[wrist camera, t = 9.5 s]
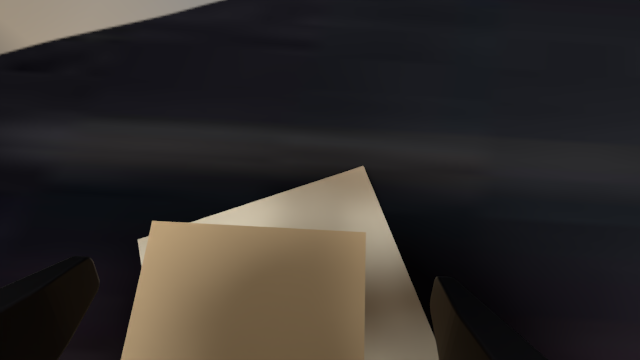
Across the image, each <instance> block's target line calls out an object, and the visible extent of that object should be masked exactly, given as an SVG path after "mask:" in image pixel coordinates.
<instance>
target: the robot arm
mask: <svg viewBox="0 0 640 360" xmlns="http://www.w3.org/2000/svg"><path fill="white" fill-rule="evenodd" d="M98 288H99V278H98V275H97V272H96V268H95V265H94V262H93V260H92V259H91V258H90V257H84V256H73V257H70V258H68V259H66V260H63V261H61V262H59V263H56V264H54V265H52V266H50V267H47V268H45V269H43V270H41V271H38V272H36V273H34V274H31V275H29V276H27V277H25V278H22V279H20V280H18V281H16V282H13V283H11V284H9V285H6V286H4V287H2V288H0V360H58V359H59V357H60V356H61V354H62V353H63V351H64V350H65V348H66V346H67V345H68V343H69V341H70V340H71V338H72V336H73V335H74V333H75V331H76V329H77V327H78V326H79V324H80V322H81V320H82V318H83V316H84V315H85V313H86V311H87V309H88V307H89V306H90V304H91V302H92V300H93V298H94V297H95V295H96V293H97V291H98ZM430 311H431V317H432V323H433V328H434V334H435V340H436V346H437V351H438V357H439V360H548V359H546V358H545V357H544V356H543V355H542V354H541V353H540V352H538V351H537V350H536V349H535V348H534V347H533V346H532V345H530V344H529V343H528V342H527V341H526V340H525V339H524V338H522V337H521V336H520V335H519V334H518V333H517V332H516V331H514V330H513V329H512V328H511V327H510V326H509V325H508V324H506V323H505V322H504V321H503V320H502V319H501V318H499V317H498V316H497V315H496V314H495V313H494V312H493V311H491V310H490V309H489V308H488V307H487V306H486V305H485V304H483V303H482V302H481V301H480V300H479V299H478V298H477V297H475V296H474V295H473V294H472V293H471V292H470V291H469V290H467V289H466V288H465V287H464V286H463V285H462V284H461V283H459V282H458V281H457V280H456V279H455V278H453V277H448V276H437V277H436V278H435V280H434V285H433V289H432V294H431V299H430Z"/></svg>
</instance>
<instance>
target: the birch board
mask: <svg viewBox="0 0 640 360" xmlns="http://www.w3.org/2000/svg"><path fill="white" fill-rule="evenodd" d="M190 223H202V224H221V225H239V226H258V227H277V228H296V229H315V230H333V231H352V232H366V258H365V336H364V360H439V357H438V351H437V346H436V340H435V337H434V335H433V332H432V330H431V328H430V325H429V323H428V320H427V318H426V315H425V313H424V311H423V308H422V306H421V303H420V301H419V299H418V296H417V294H416V291H415V289H414V287H413V284H412V282H411V279H410V277H409V274H408V272H407V270H406V267H405V265H404V262H403V260H402V258H401V255H400V253H399V250H398V248H397V246H396V243H395V241H394V238H393V236H392V233H391V231H390V229H389V226H388V224H387V221H386V219H385V217H384V214H383V212H382V209H381V207H380V205H379V202H378V200H377V197H376V195H375V192H374V190H373V188H372V185H371V183H370V180H369V178H368V176H367V173H366V171H365V168H364V166H361V167H358V168H355V169H352V170H349V171H346V172H343V173H340V174H337V175H334V176H331V177H328V178H325V179H322V180H319V181H316V182H313V183H309V184H306V185H303V186H300V187H297V188H294V189H291V190H288V191H285V192H282V193H279V194H276V195H273V196H270V197H267V198H264V199H261V200H257V201H254V202H251V203H248V204H245V205H242V206H239V207H236V208H233V209H230V210H227V211H224V212H221V213H218V214H215V215H212V216H209V217H205V218H202V219H199V220H196V221H193V222H190ZM148 238H149V236H147V237H144V238H141V239H138V246H139V252H140V259H141V265H142V264H143V260H144V255H145V251H146V246H147V242H148Z"/></svg>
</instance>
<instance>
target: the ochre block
mask: <svg viewBox="0 0 640 360" xmlns="http://www.w3.org/2000/svg"><path fill="white" fill-rule="evenodd" d="M365 258H366V232H352V231H333V230H315V229H296V228H277V227H258V226H239V225H221V224H202V223H183V222H164V221H152V224H151V229H150V233H149V238H148V242H147V246H146V251H145V255H144V260H143V264H142V268H141V273H140V277H139V282H138V286H137V291H136V295H135V299H134V304H133V308H132V313H131V317H130V321H129V326H128V330H127V335H126V339H125V343H124V348H123V352H122V357H121V360H364V336H365Z"/></svg>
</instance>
